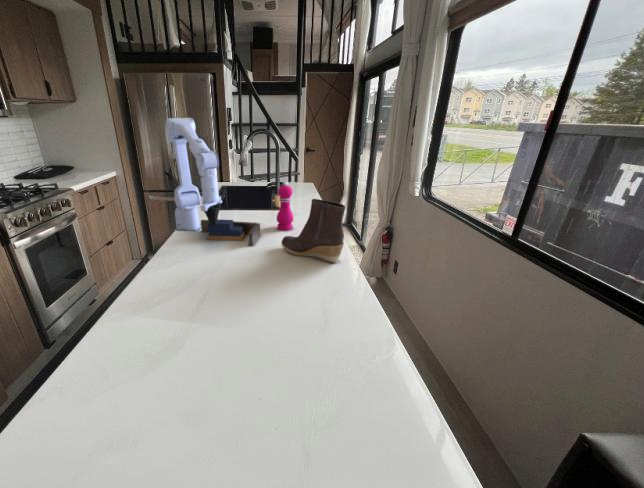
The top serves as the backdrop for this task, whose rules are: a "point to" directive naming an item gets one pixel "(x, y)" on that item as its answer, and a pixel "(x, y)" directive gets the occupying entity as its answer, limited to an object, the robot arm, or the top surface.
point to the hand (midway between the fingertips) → (213, 225)
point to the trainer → (225, 231)
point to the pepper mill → (285, 208)
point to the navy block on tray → (248, 228)
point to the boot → (320, 232)
